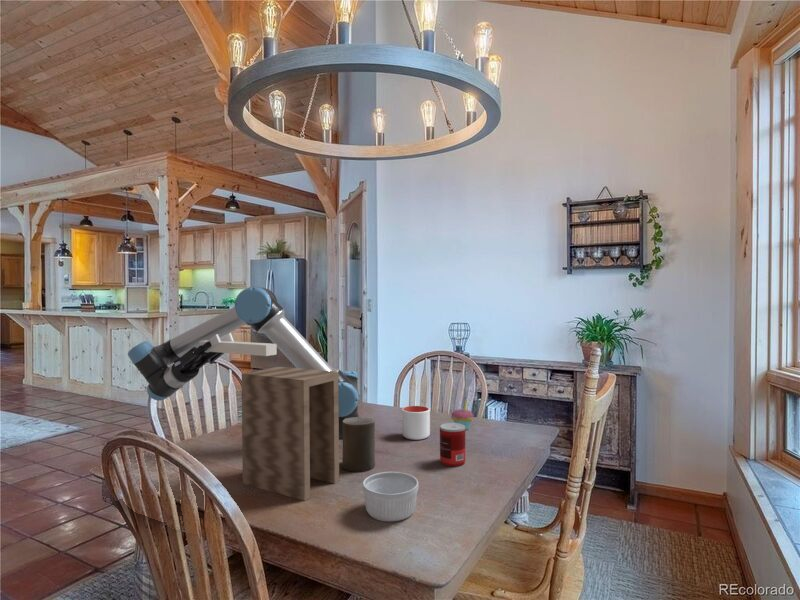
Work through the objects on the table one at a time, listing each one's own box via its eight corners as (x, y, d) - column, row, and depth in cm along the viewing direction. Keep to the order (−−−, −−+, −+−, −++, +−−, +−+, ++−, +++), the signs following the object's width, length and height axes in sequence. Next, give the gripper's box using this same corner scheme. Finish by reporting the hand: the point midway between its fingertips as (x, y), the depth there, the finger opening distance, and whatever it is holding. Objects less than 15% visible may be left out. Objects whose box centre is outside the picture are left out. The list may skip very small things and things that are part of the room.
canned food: (467, 459, 144) (467, 423, 144) (462, 468, 137) (462, 430, 137) (443, 456, 147) (443, 421, 147) (437, 465, 139) (436, 428, 139)
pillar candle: (366, 474, 133) (367, 421, 133) (336, 469, 136) (336, 418, 136) (380, 462, 142) (380, 413, 142) (351, 459, 145) (351, 411, 145)
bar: (199, 350, 142) (199, 341, 142) (210, 349, 146) (210, 340, 146) (266, 356, 128) (266, 345, 128) (276, 354, 132) (276, 343, 132)
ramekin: (422, 523, 104) (421, 492, 104) (362, 526, 103) (362, 495, 103) (415, 498, 117) (415, 470, 117) (362, 500, 116) (362, 472, 116)
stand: (242, 483, 127) (241, 373, 126) (279, 467, 139) (278, 366, 138) (304, 500, 116) (303, 380, 115) (339, 481, 128) (338, 372, 128)
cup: (427, 441, 162) (427, 412, 162) (399, 440, 164) (399, 411, 164) (431, 433, 172) (431, 406, 172) (405, 431, 174) (404, 405, 174)
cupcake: (477, 427, 179) (476, 396, 179) (468, 432, 172) (467, 400, 172) (456, 424, 184) (456, 393, 184) (447, 429, 177) (446, 397, 177)
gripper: (208, 378, 156) (251, 346, 146) (160, 387, 141) (204, 351, 131) (201, 358, 158) (243, 325, 148) (153, 364, 143) (195, 328, 133)
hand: (225, 337), depth 139 cm, fingers closed on bar, 4 cm apart
